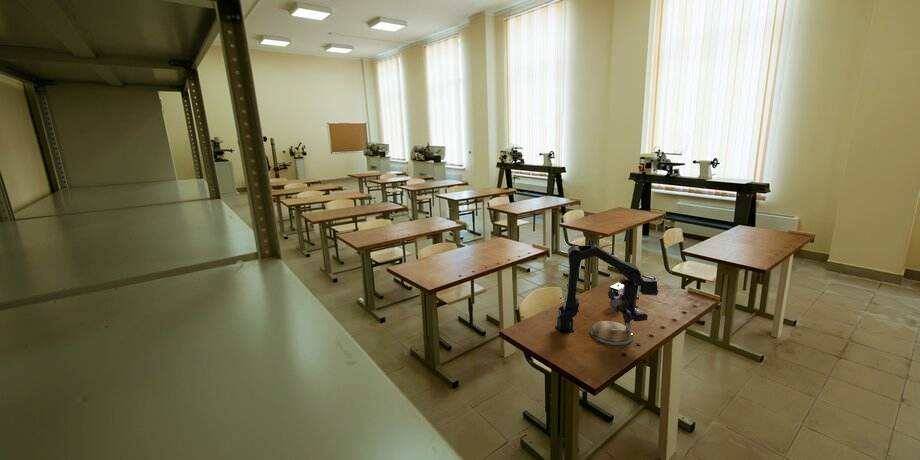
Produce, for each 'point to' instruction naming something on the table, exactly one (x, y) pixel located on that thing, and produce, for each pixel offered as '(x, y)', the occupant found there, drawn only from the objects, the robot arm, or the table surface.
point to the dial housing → (609, 341)
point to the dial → (612, 331)
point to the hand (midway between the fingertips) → (626, 325)
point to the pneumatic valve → (615, 290)
